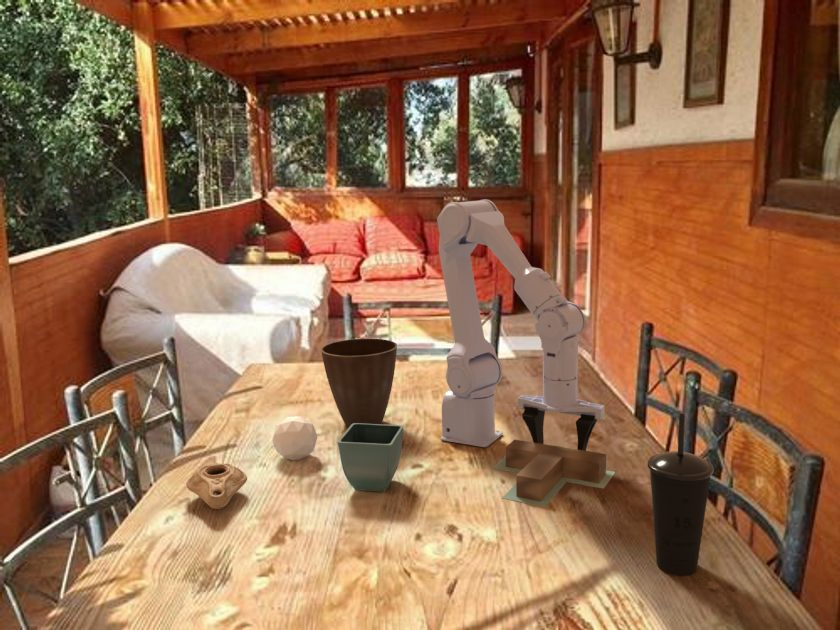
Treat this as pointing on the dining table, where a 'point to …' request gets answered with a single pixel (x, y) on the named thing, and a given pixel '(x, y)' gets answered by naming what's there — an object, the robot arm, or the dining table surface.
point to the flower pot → (370, 455)
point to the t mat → (512, 492)
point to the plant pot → (360, 377)
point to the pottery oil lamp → (216, 483)
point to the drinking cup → (679, 506)
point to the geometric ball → (294, 438)
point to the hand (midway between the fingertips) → (560, 453)
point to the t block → (550, 467)
